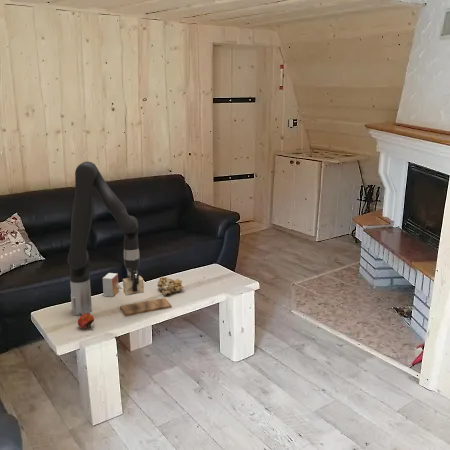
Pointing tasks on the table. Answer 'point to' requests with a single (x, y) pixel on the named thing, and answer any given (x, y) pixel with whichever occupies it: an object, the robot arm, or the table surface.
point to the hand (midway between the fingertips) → (133, 289)
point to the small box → (110, 284)
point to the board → (145, 307)
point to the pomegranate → (85, 320)
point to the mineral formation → (169, 285)
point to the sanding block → (128, 286)
